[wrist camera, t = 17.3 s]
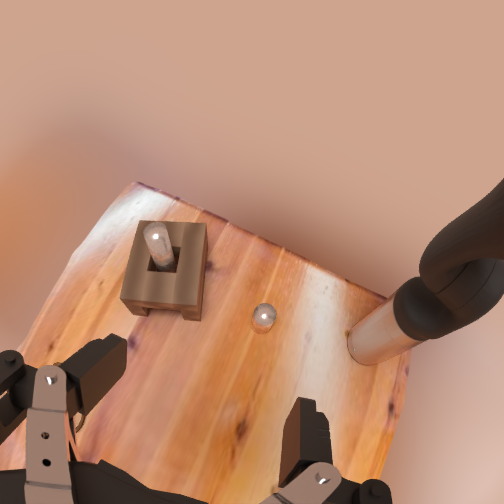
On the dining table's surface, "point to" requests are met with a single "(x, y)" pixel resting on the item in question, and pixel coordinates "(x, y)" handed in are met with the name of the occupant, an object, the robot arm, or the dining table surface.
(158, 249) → the long pin
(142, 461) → the dining table surface
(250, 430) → the dining table surface
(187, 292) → the block
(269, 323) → the short pin
